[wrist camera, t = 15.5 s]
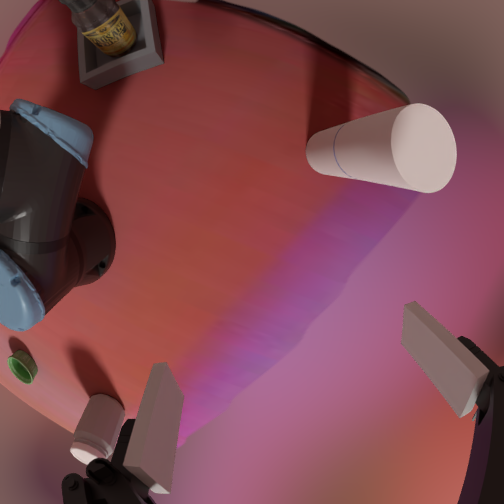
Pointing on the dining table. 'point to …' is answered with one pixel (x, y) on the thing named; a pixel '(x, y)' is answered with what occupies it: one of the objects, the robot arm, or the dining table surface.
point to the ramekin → (22, 366)
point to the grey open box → (137, 59)
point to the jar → (98, 429)
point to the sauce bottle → (103, 25)
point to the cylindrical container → (389, 149)
